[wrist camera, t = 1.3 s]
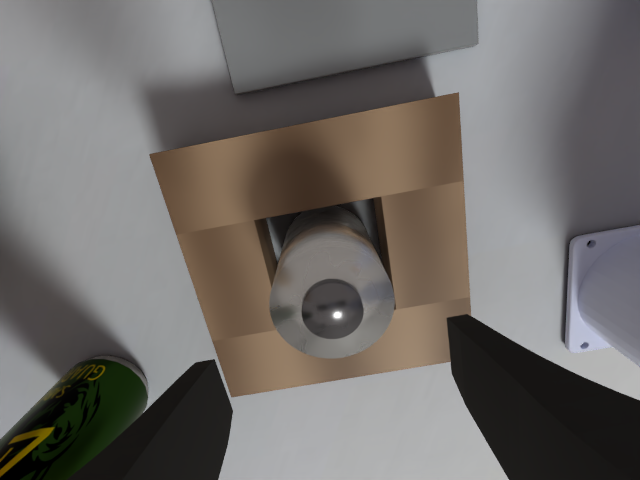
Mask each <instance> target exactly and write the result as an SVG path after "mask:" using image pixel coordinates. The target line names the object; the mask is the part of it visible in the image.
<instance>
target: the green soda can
mask: <svg viewBox="0 0 640 480" xmlns="http://www.w3.org/2000/svg"><path fill="white" fill-rule="evenodd" d="M147 400H148V384H147V380H146V378H145V376H144V375H143V373H142V372H141V370H140V369H138V368H137V367H136V366H135V365H134V364H133V363H131V362H129V361H127V360H125V359H123V358H119V357H115V356H111V355H110V356H97V357H94V358H91V359H88V360H85V361H83V362H80V363H78V364H77V365H75V366H74V367H73V368H71V369H70V370H69V371H68V372H67V373H66V374H65V375H64V376H63V377H62V378H61V379H60V380H59V381H58V382H57V383H56V384H55V385H54V386H53V387H52V388H51V389H50V390H49V391H48V392H47V393H46V394H45V395H44V396H43V397H42V398H41V399H40V400H39V401H38V402H37V403H36V404H35V405H34V406H33V407H32V408H31V409H30V410H29V411H28V412H27V413H26V414H25V415H24V416H23V417H22V418H21V419H20V420H19V421H18V422H17V423H16V424H15V425H14V426H13V427H12V428H11V429H10V430H9V431H8V432H7V433H6V434H5V435H4V436H3V437H2V438H1V439H0V480H67V479H68V478H69V477H71V476H72V475H73V474H74V473H76V472H77V471H78V470H79V469H81V468H82V467H83V466H84V465H85V464H87V463H88V462H89V461H90V460H92V459H93V458H94V457H95V456H96V455H98V454H99V453H100V452H101V451H102V450H103V449H105V448H106V447H107V446H108V445H109V444H110V443H111V442H112V441H114V440H115V439H116V438H117V437H118V436H119V435H120V434H121V433H122V432H123V431H124V430H126V429H127V428H128V427H129V426H130V425H131V424H132V423H133V422H134V421H135V420H136V419H138V418H139V417H140V416H141V415H142V413H143V411H144V410H145V408H146V406H147Z"/></svg>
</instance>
